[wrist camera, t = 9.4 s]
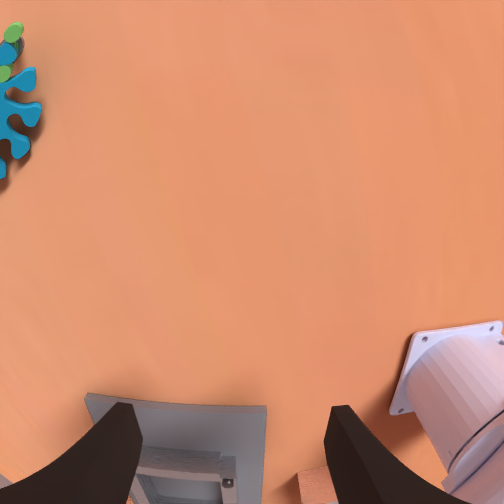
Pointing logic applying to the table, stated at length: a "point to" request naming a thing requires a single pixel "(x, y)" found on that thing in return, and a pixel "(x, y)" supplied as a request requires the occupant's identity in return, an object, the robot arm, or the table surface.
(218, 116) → the table surface
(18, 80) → the blue spiky round piece
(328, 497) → the small brown box
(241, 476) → the tray
